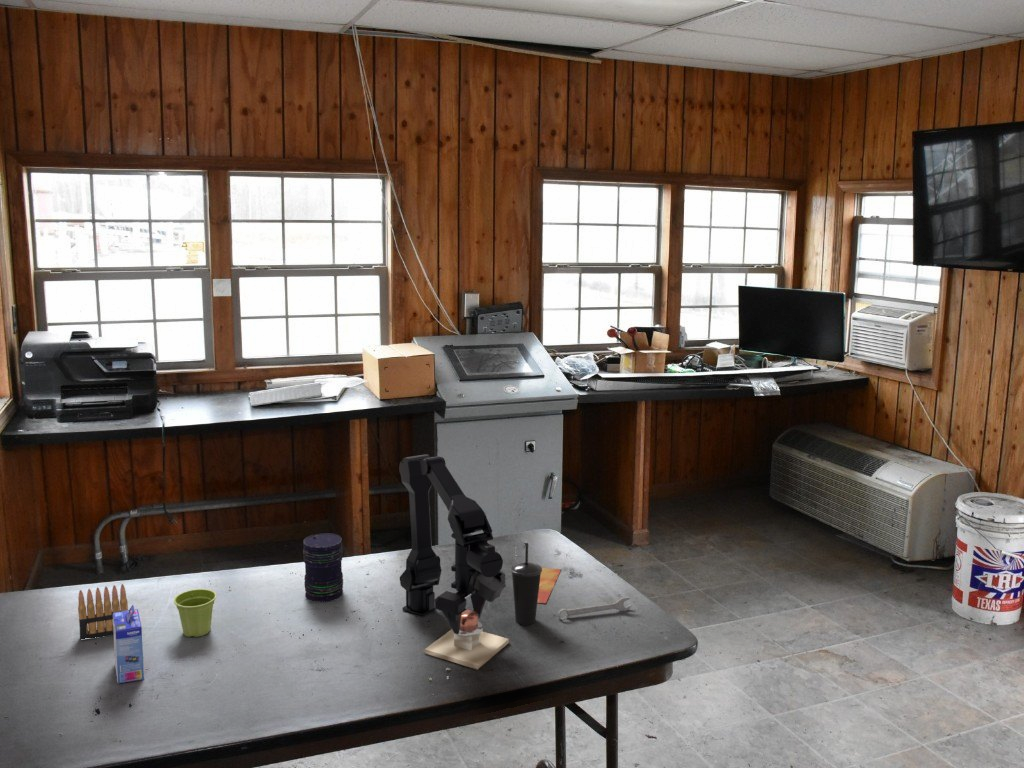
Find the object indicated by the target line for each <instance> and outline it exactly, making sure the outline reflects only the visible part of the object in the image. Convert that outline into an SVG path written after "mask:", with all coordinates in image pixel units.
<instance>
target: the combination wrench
mask: <svg viewBox="0 0 1024 768" xmlns="http://www.w3.org/2000/svg"><path fill="white" fill-rule="evenodd" d="M630 599H631V598H630V597H629V596H624V597H623V596H622V597H620V598H619V599H617V601H616V602H614V603H607V604H598V605H592V606H591V605H589V606H584V607H577V608H567V609H566V608H561V609H559V611H558V612H557V618H559V620H560V621H563V620H567V619H569V618H570V617H572V616H579V615H585V614H590V613H591V614H592V613H597V612H604V611H610V610H617V611H620V612H627V611H628V610H630V609H631V608H632V606H633V605H632V604H629V605H626V606H625V605H624V603H625V602H626V601H629V600H630ZM563 612H566V614H565V616H564V617H562V616H561V614H562V613H563Z"/></svg>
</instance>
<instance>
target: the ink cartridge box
mask: <svg viewBox="0 0 1024 768" xmlns="http://www.w3.org/2000/svg"><path fill="white" fill-rule="evenodd" d="M113 630H114V635H113V652H114V655H113V656H114V667H115V673H116V681H117V684H122V683H123V684H124V683H128V682H137V681H143V680H144V679H145V670H144V669H145V668H144V652H143V651H144V649H143V629H142V622H141V616H140V612H139V609H137V608H136V609H135V605H134V604H132V605H131V606H130V607H129V608H128V610H127V611H121V612H116V613H113Z"/></svg>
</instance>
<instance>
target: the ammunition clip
mask: <svg viewBox="0 0 1024 768" xmlns="http://www.w3.org/2000/svg"><path fill="white" fill-rule="evenodd" d="M92 592H93V591H92V590H91V589H90V588H88V589H87V594H86V601H85V596H84V593H83V591H82V589H80V590H79V591H78V605H77V606H78V607H77V609H78V611H77V612H78V623H79V641H80V640H81V639H85V638H94V639H97V637H100V638H105V637H110V636H114V630H113V613H116V612H121V611H127V610H129V601H128V599H127V593H126V592H127V591H126V588H125V585H124V583H121V584H120V594H119V595H118V589H117V587H116V585H115V584H113V586H112V589H111V596H112V597H110V591H109V587H108V586H105V587H104V590H103V601H102V594H101V590H100V587H96V590H95V604H94V597H93V596H94V595H93V593H92ZM103 636H105V637H103ZM95 637H96V638H95ZM81 641H82V640H81Z"/></svg>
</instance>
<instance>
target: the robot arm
mask: <svg viewBox="0 0 1024 768" xmlns="http://www.w3.org/2000/svg"><path fill="white" fill-rule="evenodd" d="M398 470H399V474H400V478H401V483H402V484H403V485H404V487H405V488H406V490H407V492H408V496H409V497H408V499H409V516H410V517H409V518H410V519H409V520H410V533H411V534H410V535H411V550H410V552H409V554H408V556H407V558H406V562H405V569H404V571H403V572H402V573H401V575H400V576H399V583H400V587H402V588H403V589H404V590H405V605H404V606H403V607H402V611H405V612H409V613H412V614H416V615H420V616H425V615H426V614H428V613H429V612H431V611H432V610H438V611H440V612H441V613H442V614H443V615H444V617H445V618H446V620H447V622H448V625H449V626H450V628H451V629H452V630H453V632H454V633H455V634H459V630H460V623H461V614H462V613H463V612H464V611H466V610H468V609H467V608H466V607H467V598H469V597H470V601H471V605H472V609H473V611H475V612H477V613H478V619H480V618H481V616H482V613H483V610H484V607H485V603H486V601H487V602H488V603H493V602H494V601H495V600H497V599H498V598H499V597H500V596H501V594H502V591H503V590H504V589H505V588H506V587H507V586H506V585H507V584H506V583H507V582H506V574H505V573H504V572H503V571H501V570H502V568H503V565H504V559H503V558H502V555H501V553H499V552H498V551H496V546H494V545H493V544H491V543H488V541H489V542H490V541H492V540H494V536H493V529H492V527H491V524H490V522H489V520H488V517H487V515H486V512H485V511H484V510H483V508H482V507H481V506H480V505H479V503H478V502H477V501H476V500H474V499H472V498H470V497H468V496H466V494H465V493H464V492H463V490H462V488H461V487H460V486H459V484H458V482H457V480H456V479H455V478H454V476H453V474H452V473H451V471H450V470H449V469H448V467H447V464H446V460H445V458H444V457H442V456H439V455H438V456H431V455H429V454H428V453H427V454H426V453H425V454H421V455H413V456H407V457H403V458H402V461H400V462H399V467H398ZM432 486H433V488H434V490H436V493H438V496H439V497H440V499H441V500H442V502H443V504H444V506H445V507H446V509H447V511H448V513H447V521H448V524H449V526H450V529H451V531H452V534H451V535H450V536H451V538H452V539H454V541H455V542H454V543H455V544H454V547H455V548H454V549H455V550H454V551H455V553H454V559H455V560H454V564H453V565H452V566H451V568H450V570H451V572H454V581H453V582H451V585H450V588H451V589H454V590H456V592H451V591H448V590H445V591H444V592H443V593H441V594H439V595H438V596H437V597H436V596H435V594H436V593H435V592H434V586H439V584H440V582H441V581H440V580H441V575H442V567H441V557H440V556H439V555H437V554H436V552H435V551H434V549H433V545H432V527H431V523H432V522H431V506H430V490H431V488H432ZM481 531H482V532H481ZM479 532H480V533H479ZM474 533H476V534H474Z"/></svg>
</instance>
